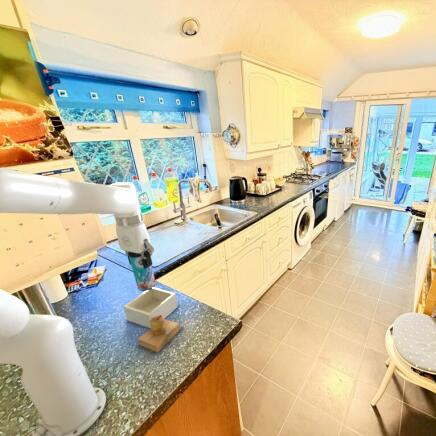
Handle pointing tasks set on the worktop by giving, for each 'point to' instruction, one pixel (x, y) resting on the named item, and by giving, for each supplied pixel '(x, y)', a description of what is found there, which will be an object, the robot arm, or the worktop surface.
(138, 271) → the beverage can
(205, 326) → the worktop surface
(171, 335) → the flat wooden block
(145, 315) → the white open box
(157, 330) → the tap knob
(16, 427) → the worktop surface
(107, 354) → the worktop surface
